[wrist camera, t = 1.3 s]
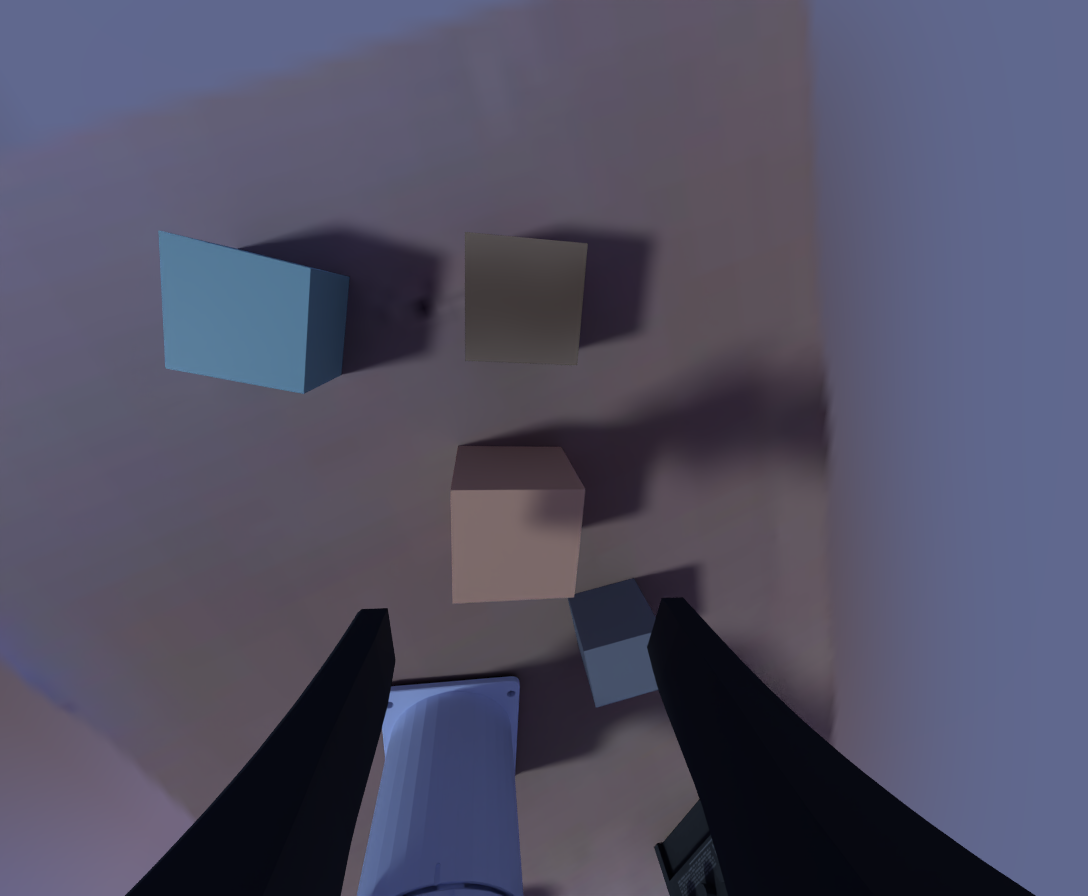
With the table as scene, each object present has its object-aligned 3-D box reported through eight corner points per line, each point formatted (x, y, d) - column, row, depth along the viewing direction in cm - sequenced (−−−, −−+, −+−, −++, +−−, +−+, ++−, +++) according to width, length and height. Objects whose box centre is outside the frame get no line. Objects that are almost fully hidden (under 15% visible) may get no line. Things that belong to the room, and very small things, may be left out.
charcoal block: (640, 628, 25) (669, 686, 21) (578, 646, 24) (596, 707, 21) (633, 577, 23) (662, 629, 19) (567, 595, 23) (583, 651, 19)
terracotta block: (554, 533, 21) (574, 597, 17) (459, 536, 21) (452, 603, 16) (560, 446, 20) (585, 489, 15) (458, 445, 19) (450, 490, 14)
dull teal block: (342, 374, 17) (303, 393, 13) (237, 353, 16) (165, 368, 13) (350, 276, 16) (310, 268, 12) (237, 248, 15) (158, 230, 11)
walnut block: (557, 353, 18) (577, 365, 14) (468, 349, 18) (465, 360, 14) (564, 257, 17) (587, 243, 13) (468, 249, 16) (464, 231, 13)
